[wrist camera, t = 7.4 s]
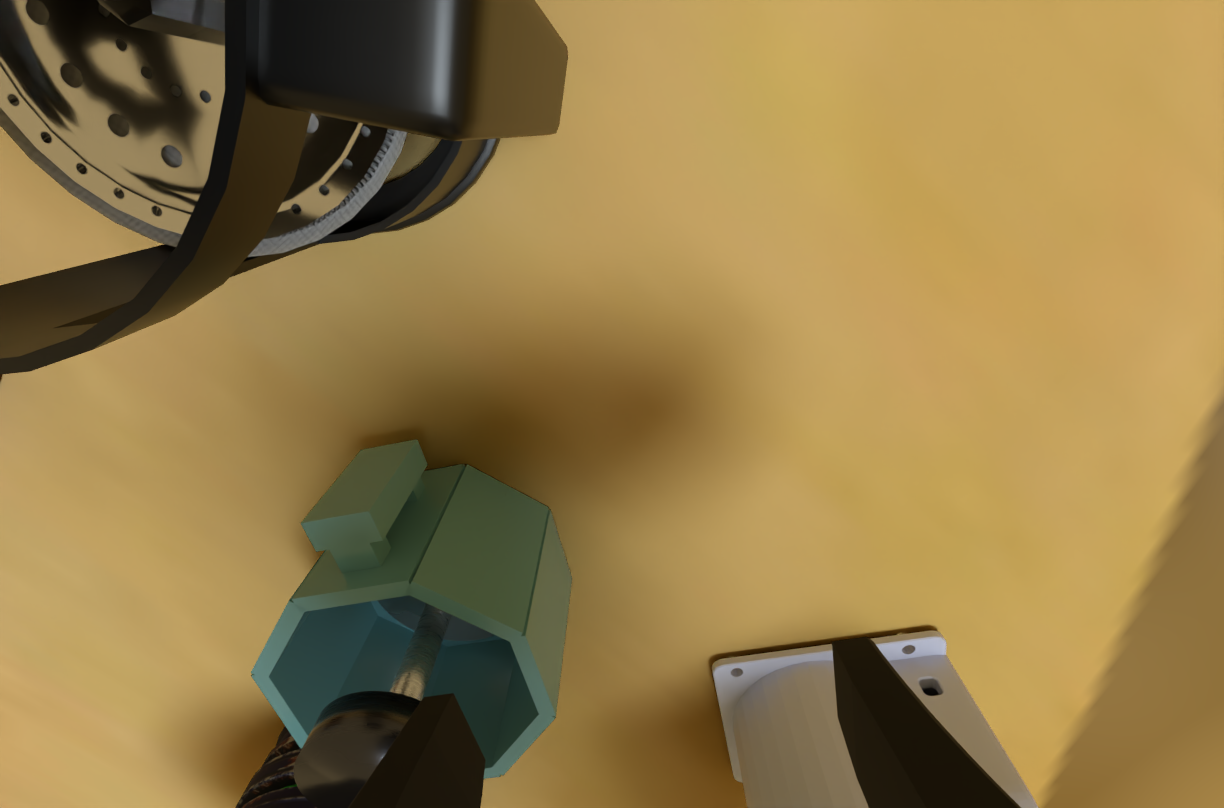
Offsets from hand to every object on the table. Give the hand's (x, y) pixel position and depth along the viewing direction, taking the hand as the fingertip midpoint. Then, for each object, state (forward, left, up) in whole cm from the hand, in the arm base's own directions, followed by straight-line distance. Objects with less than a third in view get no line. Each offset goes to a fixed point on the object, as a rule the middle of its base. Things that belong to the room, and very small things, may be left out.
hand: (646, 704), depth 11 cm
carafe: (+8, +4, -10) cm, 14 cm away
